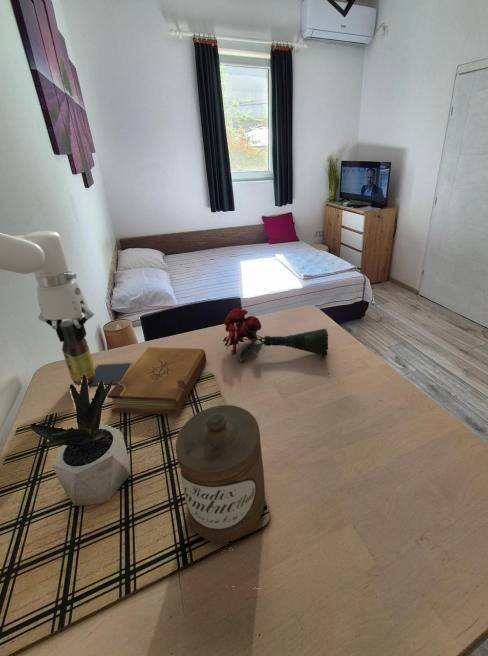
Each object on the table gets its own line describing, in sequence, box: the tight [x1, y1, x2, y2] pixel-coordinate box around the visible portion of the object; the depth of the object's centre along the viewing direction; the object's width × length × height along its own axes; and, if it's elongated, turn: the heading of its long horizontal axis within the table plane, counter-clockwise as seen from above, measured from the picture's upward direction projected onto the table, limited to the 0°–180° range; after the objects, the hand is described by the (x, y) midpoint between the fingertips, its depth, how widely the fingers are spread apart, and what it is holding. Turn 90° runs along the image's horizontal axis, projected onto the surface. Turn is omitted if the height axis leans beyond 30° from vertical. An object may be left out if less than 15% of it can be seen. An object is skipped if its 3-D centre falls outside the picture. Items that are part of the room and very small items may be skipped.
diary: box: [107, 346, 207, 416], centre depth 95 cm, size 23×19×6 cm
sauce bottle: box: [60, 319, 96, 385], centre depth 94 cm, size 6×6×20 cm
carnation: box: [222, 307, 329, 363], centre depth 111 cm, size 16×18×35 cm
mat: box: [87, 362, 131, 387], centre depth 101 cm, size 10×10×1 cm
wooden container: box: [175, 404, 266, 544], centre depth 60 cm, size 15×15×22 cm
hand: (73, 338), depth 92 cm, fingers closed on sauce bottle, 4 cm apart
